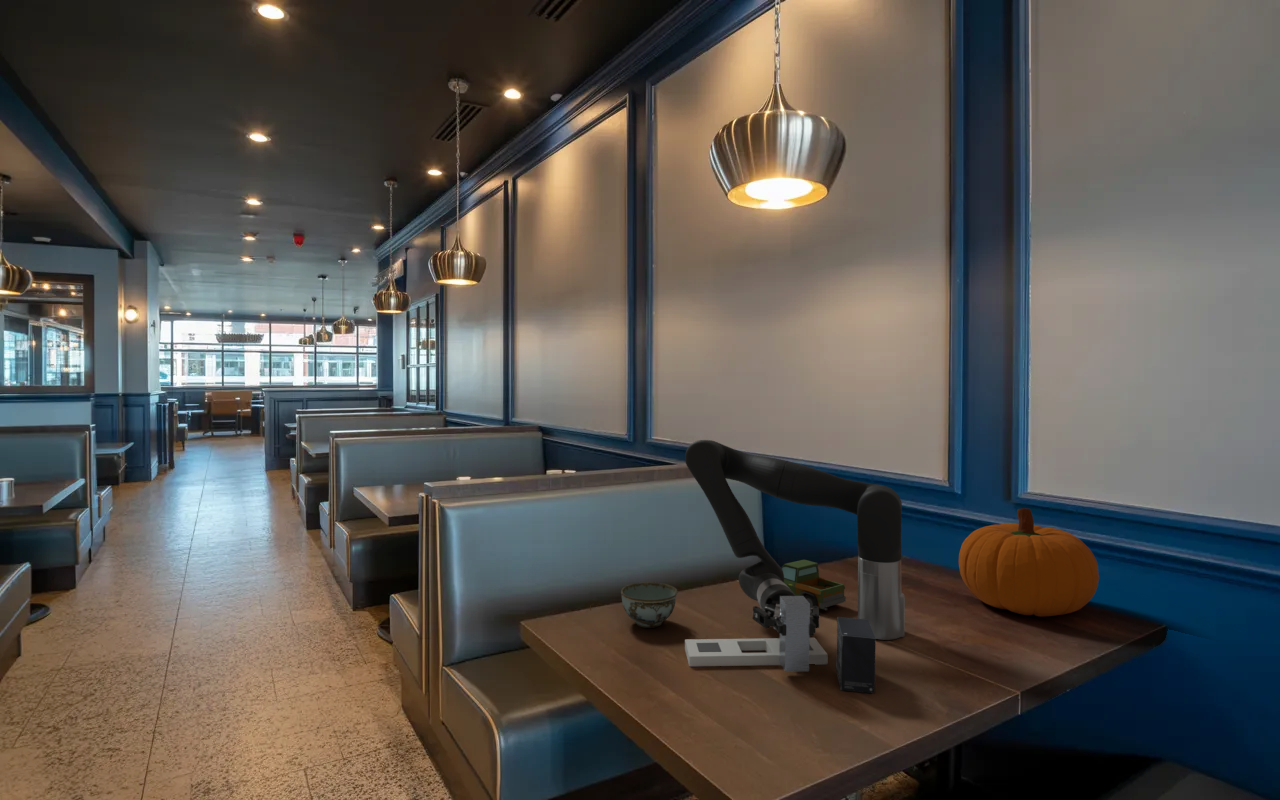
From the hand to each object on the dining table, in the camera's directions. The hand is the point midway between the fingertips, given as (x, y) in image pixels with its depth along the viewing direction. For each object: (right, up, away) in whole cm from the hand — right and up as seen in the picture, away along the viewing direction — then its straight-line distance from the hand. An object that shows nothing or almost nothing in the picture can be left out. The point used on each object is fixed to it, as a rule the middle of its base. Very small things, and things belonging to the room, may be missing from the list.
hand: (798, 630), depth 127 cm
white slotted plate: (-6, -10, +13) cm, 17 cm away
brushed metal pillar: (0, -8, +3) cm, 8 cm away
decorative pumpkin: (+68, -9, +44) cm, 82 cm away
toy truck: (+12, -9, +48) cm, 51 cm away
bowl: (-28, -10, +32) cm, 43 cm away
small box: (+11, -10, +1) cm, 15 cm away
